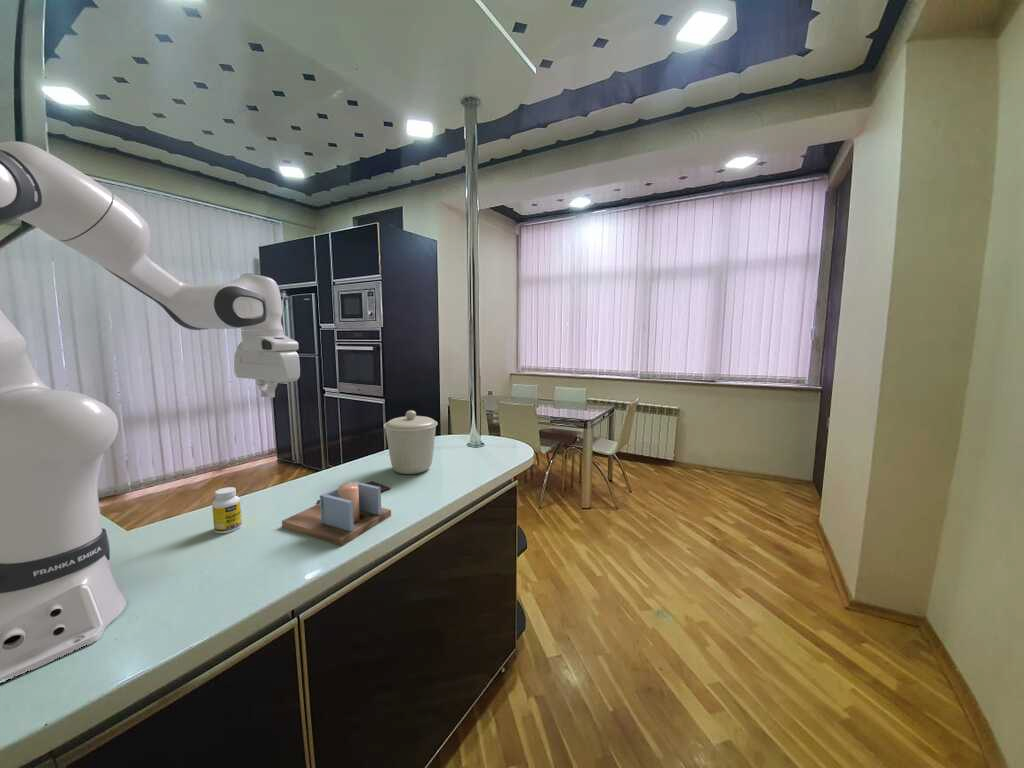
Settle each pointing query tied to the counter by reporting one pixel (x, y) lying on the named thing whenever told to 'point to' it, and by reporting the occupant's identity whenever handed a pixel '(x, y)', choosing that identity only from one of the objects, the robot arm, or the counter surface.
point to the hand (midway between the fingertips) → (267, 397)
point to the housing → (348, 506)
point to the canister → (411, 442)
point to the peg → (351, 497)
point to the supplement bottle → (226, 510)
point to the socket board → (312, 526)
